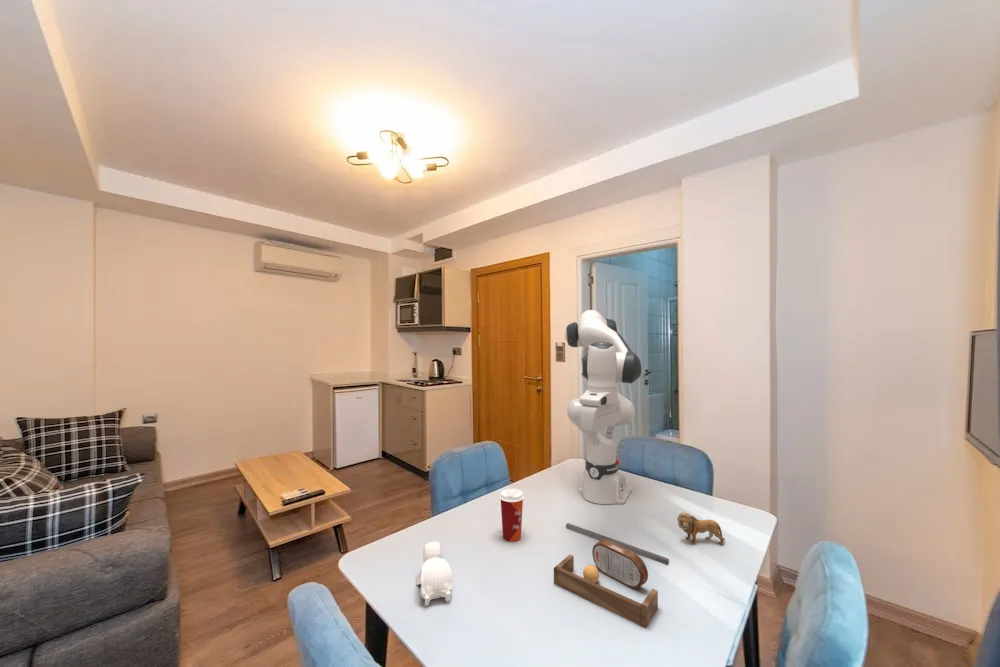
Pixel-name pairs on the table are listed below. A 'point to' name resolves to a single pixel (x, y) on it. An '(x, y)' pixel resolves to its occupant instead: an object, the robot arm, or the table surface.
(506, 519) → the paper cup
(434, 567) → the white animal figurine
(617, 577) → the tin
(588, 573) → the ball
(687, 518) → the lion figurine
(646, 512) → the table surface
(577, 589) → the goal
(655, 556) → the rail
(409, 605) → the table surface
